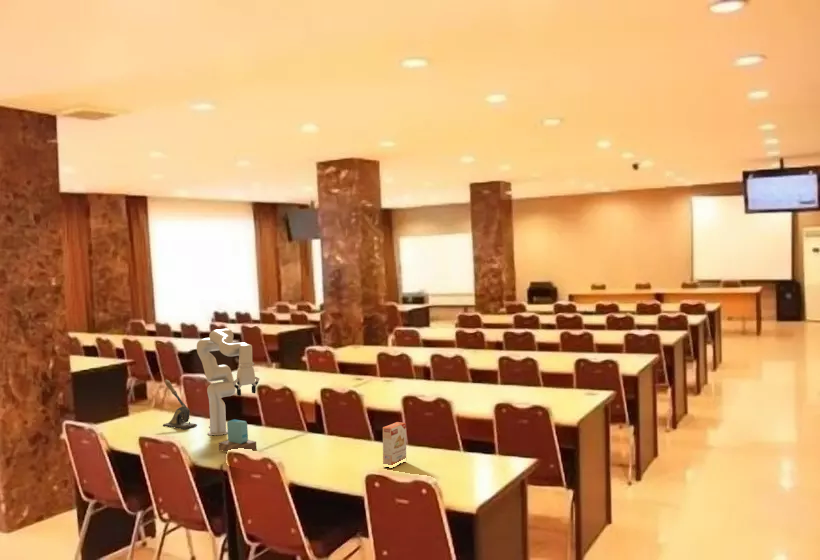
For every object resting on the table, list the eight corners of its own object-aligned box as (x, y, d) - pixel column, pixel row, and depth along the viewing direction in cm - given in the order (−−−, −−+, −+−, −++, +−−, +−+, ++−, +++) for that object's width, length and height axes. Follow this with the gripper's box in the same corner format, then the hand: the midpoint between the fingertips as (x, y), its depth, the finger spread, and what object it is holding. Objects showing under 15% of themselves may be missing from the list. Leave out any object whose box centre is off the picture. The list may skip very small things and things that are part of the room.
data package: (248, 442, 405) (247, 421, 404) (242, 444, 401) (241, 423, 400) (234, 439, 412) (233, 418, 411) (227, 441, 408) (226, 420, 407)
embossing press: (183, 430, 457) (181, 383, 456) (161, 425, 471) (159, 380, 470) (197, 426, 466) (196, 380, 464) (175, 422, 479) (173, 377, 478)
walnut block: (219, 451, 406) (218, 442, 406) (239, 445, 417) (239, 437, 417) (235, 456, 396) (235, 447, 396) (256, 450, 406) (256, 441, 406)
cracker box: (392, 469, 362) (391, 428, 361) (382, 467, 365) (381, 427, 364) (407, 462, 374) (406, 422, 373) (397, 460, 377) (396, 421, 376)
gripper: (255, 362, 428) (255, 391, 429) (229, 366, 416) (229, 395, 417) (262, 364, 423) (262, 393, 424) (236, 368, 411) (236, 397, 412)
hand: (246, 394), depth 420 cm, fingers open, 9 cm apart
